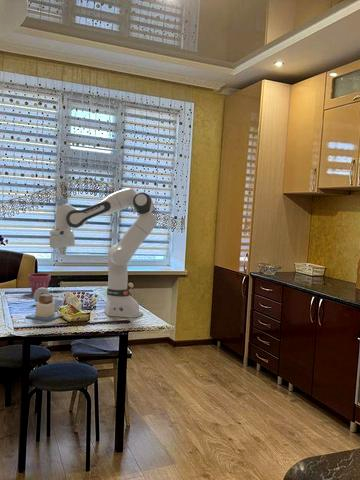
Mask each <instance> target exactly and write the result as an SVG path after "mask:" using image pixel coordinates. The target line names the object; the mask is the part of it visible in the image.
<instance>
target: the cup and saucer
mask: <svg viewBox="0 0 360 480" xmlns="http://www.w3.org/2000/svg"><path fill="white" fill-rule="evenodd" d="M55 309H56V301H52V303H49V304H42V303H39V302H35V313H31V314H29V315H26V316H25V319H29V320H36V321H41V322H45V323H48V322H51V321H54V320H56V319H60V318H61V317H60V315H59V314H60V313H59V314H58V312H55V311H56V310H55Z"/></svg>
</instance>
